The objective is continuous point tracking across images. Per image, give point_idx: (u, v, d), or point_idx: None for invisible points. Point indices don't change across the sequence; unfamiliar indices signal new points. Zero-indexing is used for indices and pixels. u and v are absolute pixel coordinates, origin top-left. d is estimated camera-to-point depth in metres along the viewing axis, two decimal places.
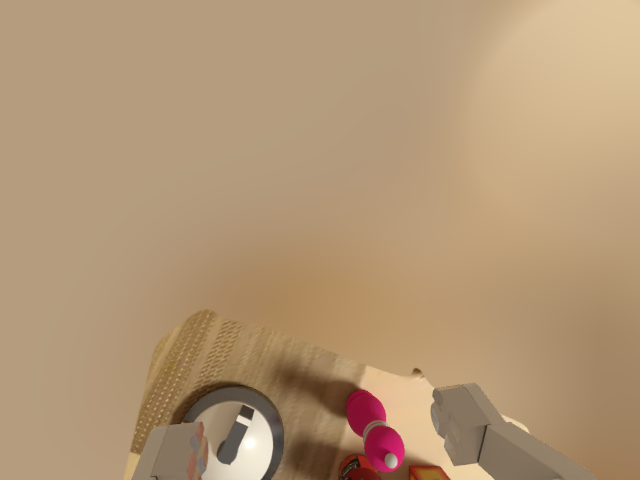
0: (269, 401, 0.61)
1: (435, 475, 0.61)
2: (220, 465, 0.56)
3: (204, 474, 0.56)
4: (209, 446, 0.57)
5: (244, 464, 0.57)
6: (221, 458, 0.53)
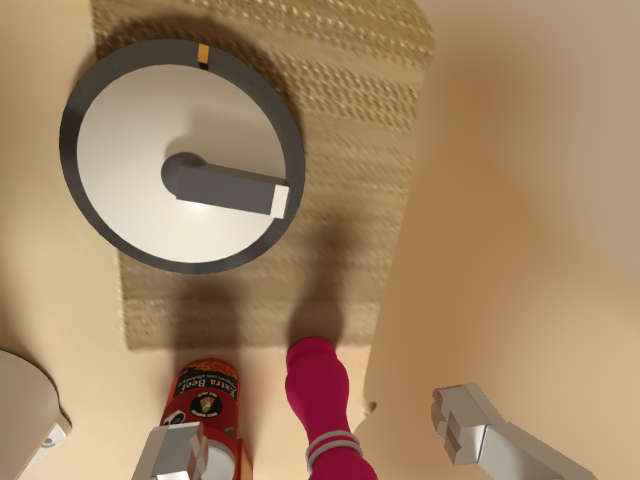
0: None
1: (248, 479, 0.41)
2: (149, 166, 0.25)
3: (116, 135, 0.24)
4: (181, 130, 0.25)
5: (170, 216, 0.27)
6: (184, 175, 0.22)
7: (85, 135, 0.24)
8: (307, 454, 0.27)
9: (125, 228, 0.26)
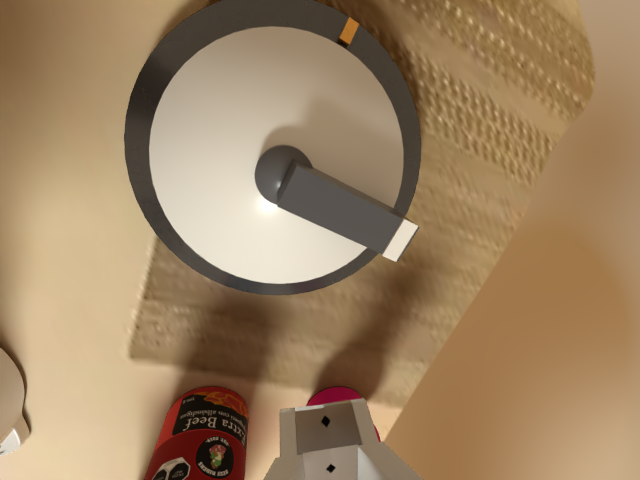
0: None
1: None
2: (240, 152, 0.19)
3: (213, 103, 0.18)
4: (294, 118, 0.19)
5: (244, 218, 0.21)
6: (299, 179, 0.16)
7: (174, 92, 0.18)
8: None
9: (184, 220, 0.20)
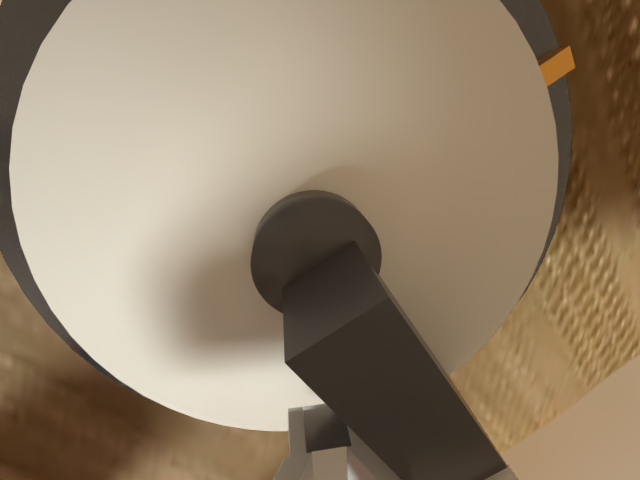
0: None
1: None
2: (253, 169, 0.09)
3: (252, 38, 0.07)
4: (390, 162, 0.09)
5: (190, 290, 0.10)
6: (373, 327, 0.06)
7: None
8: None
9: (55, 240, 0.09)
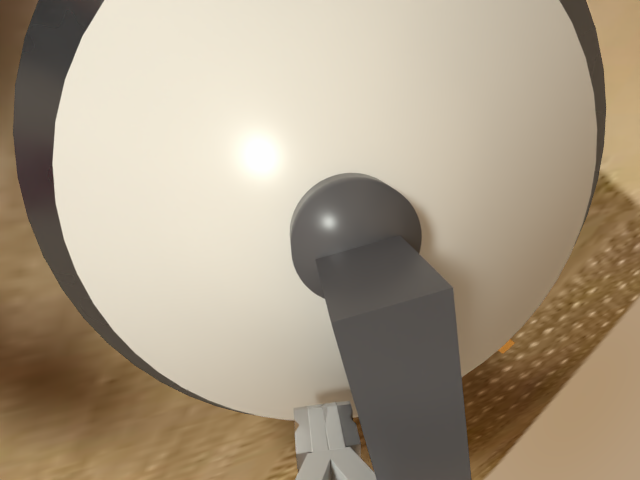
0: None
1: None
2: (326, 134, 0.08)
3: (377, 12, 0.08)
4: (448, 176, 0.09)
5: (213, 233, 0.09)
6: (425, 314, 0.06)
7: None
8: None
9: (96, 130, 0.08)
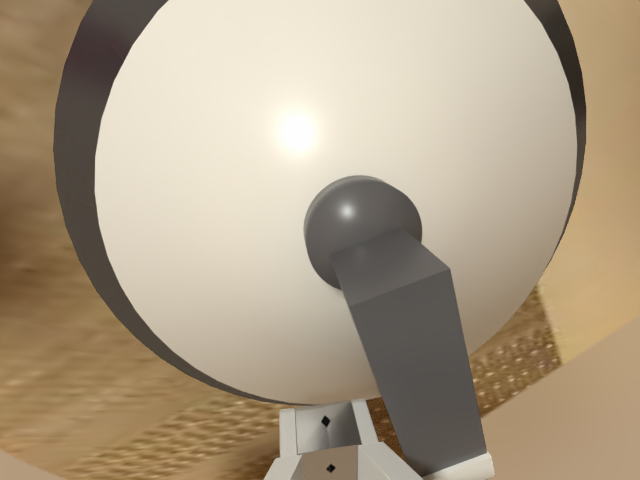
0: None
1: None
2: (329, 144, 0.10)
3: (365, 33, 0.09)
4: (442, 170, 0.10)
5: (236, 240, 0.10)
6: (428, 293, 0.07)
7: None
8: None
9: (129, 159, 0.09)
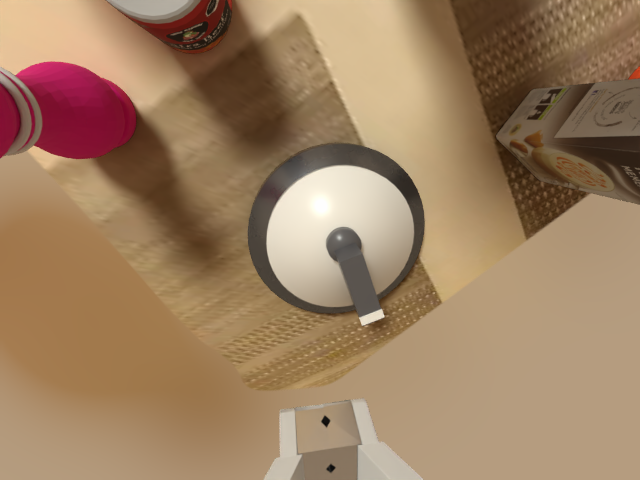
0: None
1: None
2: (333, 218, 0.32)
3: (343, 190, 0.31)
4: (368, 224, 0.33)
5: (305, 246, 0.33)
6: (358, 259, 0.30)
7: (332, 172, 0.31)
8: (26, 91, 0.18)
9: (277, 224, 0.32)
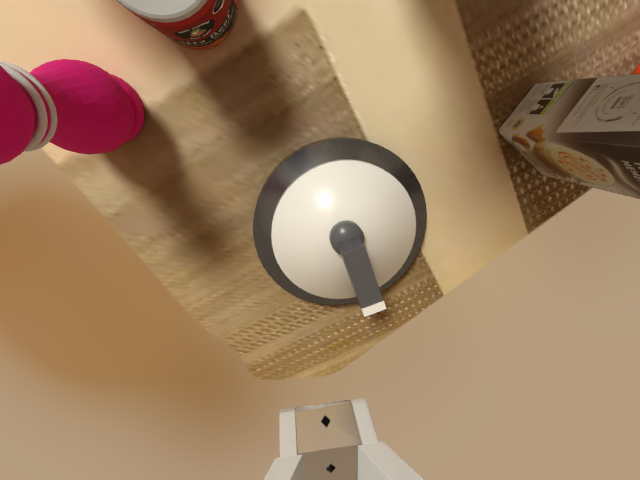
0: None
1: None
2: (337, 212, 0.33)
3: (346, 184, 0.32)
4: (371, 218, 0.34)
5: (309, 240, 0.34)
6: (360, 252, 0.31)
7: (336, 166, 0.31)
8: (42, 90, 0.18)
9: (282, 218, 0.32)
